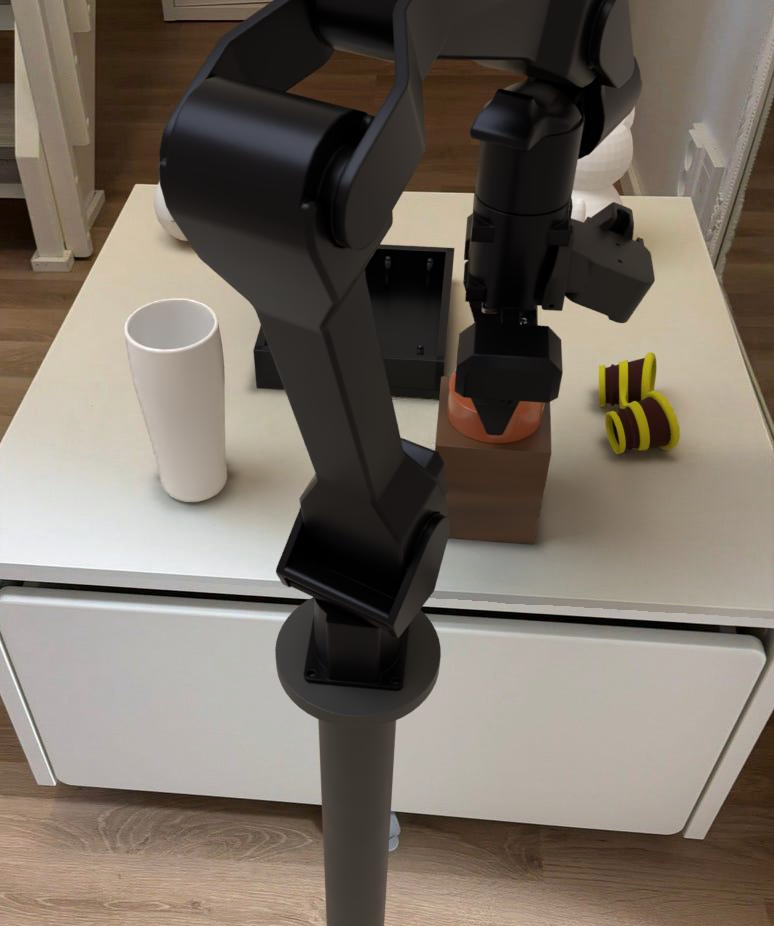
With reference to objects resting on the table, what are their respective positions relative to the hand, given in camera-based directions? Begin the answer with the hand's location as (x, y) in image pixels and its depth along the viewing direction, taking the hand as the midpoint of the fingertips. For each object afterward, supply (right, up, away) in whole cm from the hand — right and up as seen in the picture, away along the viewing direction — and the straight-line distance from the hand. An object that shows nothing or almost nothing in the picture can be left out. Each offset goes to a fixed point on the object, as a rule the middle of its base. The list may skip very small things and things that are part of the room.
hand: (495, 401), depth 73 cm
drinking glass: (-23, -5, +10) cm, 25 cm away
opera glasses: (+14, 0, +14) cm, 19 cm away
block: (0, -7, +8) cm, 10 cm away
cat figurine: (+13, +20, +31) cm, 39 cm away
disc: (0, -1, +1) cm, 1 cm away
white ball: (-25, +24, +36) cm, 49 cm away
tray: (-9, +11, +23) cm, 27 cm away
